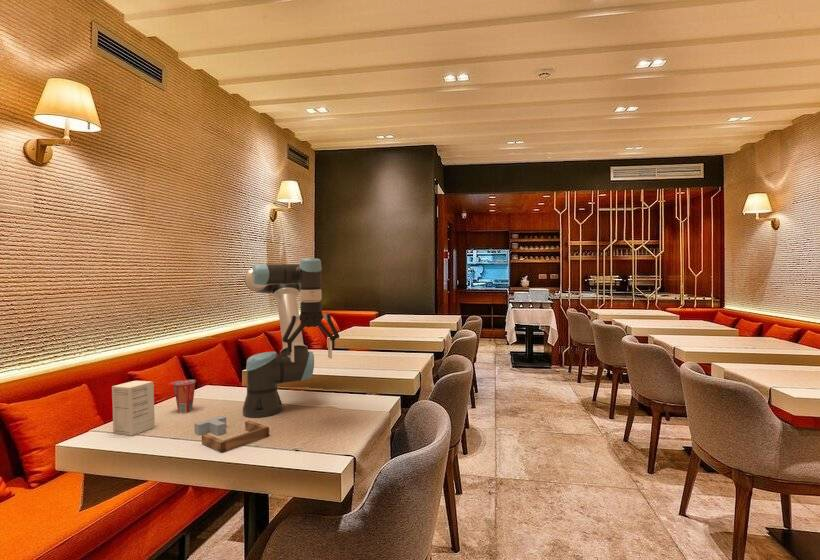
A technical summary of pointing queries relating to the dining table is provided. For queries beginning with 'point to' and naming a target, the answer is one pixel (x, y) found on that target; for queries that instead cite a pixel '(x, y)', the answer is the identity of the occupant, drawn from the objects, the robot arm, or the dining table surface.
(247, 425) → the dock
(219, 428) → the t block
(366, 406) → the dining table surface
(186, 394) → the cup
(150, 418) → the supplement box
